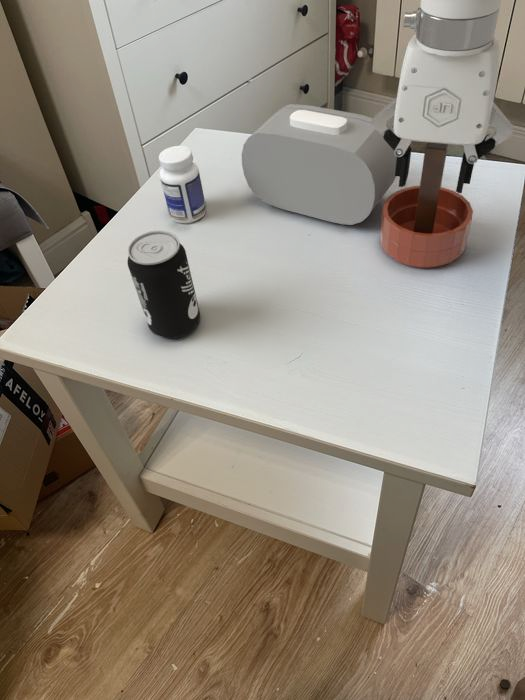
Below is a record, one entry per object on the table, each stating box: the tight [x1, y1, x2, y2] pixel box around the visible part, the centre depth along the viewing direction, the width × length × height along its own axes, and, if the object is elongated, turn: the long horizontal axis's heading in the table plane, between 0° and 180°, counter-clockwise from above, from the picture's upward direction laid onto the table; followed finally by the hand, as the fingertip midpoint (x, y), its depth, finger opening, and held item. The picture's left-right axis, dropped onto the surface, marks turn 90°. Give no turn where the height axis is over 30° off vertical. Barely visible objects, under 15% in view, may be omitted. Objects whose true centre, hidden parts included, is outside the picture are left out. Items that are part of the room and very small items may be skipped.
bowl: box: [379, 185, 474, 269], centre depth 75 cm, size 11×11×6 cm
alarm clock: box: [241, 103, 397, 226], centre depth 80 cm, size 21×10×13 cm, turn 60°
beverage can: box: [127, 230, 201, 339], centre depth 66 cm, size 7×7×12 cm
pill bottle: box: [158, 145, 207, 224], centre depth 83 cm, size 6×6×10 cm
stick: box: [413, 142, 449, 234], centre depth 71 cm, size 2×2×14 cm
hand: (431, 182), depth 70 cm, fingers open, 6 cm apart
